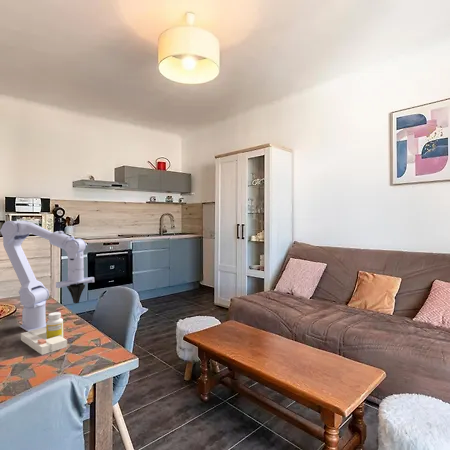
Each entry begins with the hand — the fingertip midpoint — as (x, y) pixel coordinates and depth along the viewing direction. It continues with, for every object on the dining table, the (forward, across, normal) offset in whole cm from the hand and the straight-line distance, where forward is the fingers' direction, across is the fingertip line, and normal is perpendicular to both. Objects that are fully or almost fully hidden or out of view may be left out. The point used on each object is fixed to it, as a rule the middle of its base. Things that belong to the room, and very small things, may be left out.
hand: (76, 302), depth 125 cm
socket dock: (+10, -14, -6) cm, 19 cm away
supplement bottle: (+11, -11, -6) cm, 16 cm away
